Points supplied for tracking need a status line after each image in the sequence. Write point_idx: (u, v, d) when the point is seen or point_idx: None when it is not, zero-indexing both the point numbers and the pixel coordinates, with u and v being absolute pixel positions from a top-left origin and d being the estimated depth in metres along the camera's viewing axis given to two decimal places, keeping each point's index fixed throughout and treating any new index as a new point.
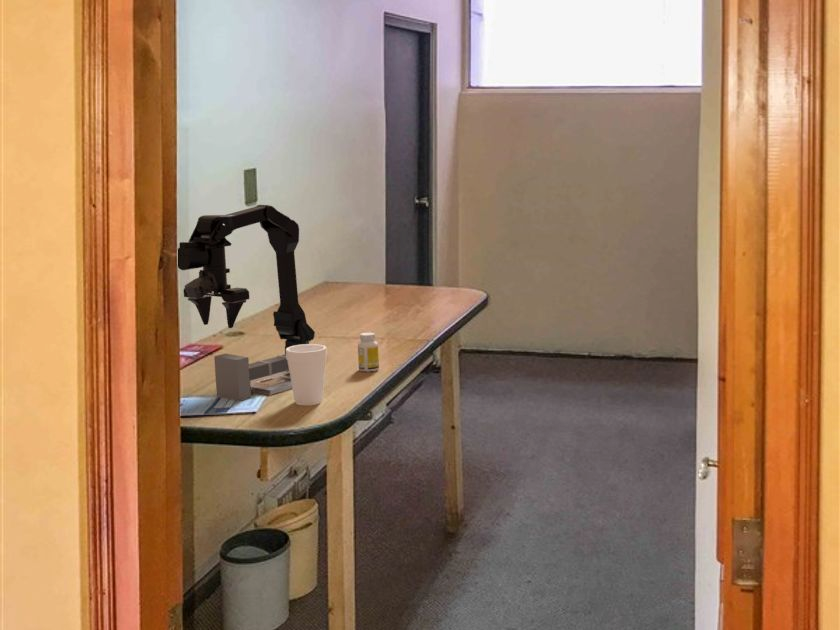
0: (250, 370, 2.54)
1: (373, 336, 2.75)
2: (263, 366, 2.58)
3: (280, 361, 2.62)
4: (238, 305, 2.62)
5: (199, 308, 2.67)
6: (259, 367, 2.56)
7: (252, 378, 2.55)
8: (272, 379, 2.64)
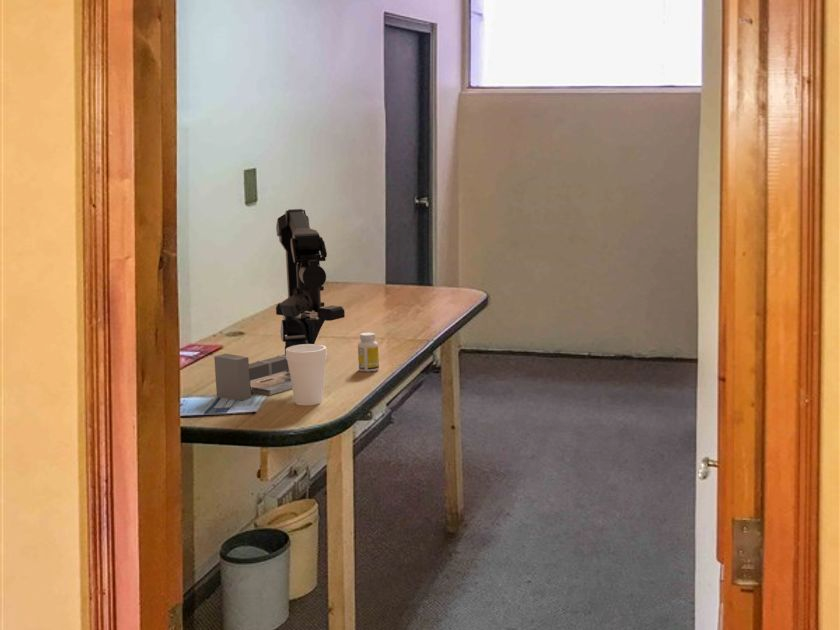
0: (250, 370, 2.54)
1: (373, 336, 2.75)
2: (263, 366, 2.58)
3: (280, 361, 2.62)
4: (320, 322, 2.62)
5: (304, 328, 2.62)
6: (259, 367, 2.56)
7: (252, 378, 2.55)
8: (272, 379, 2.64)
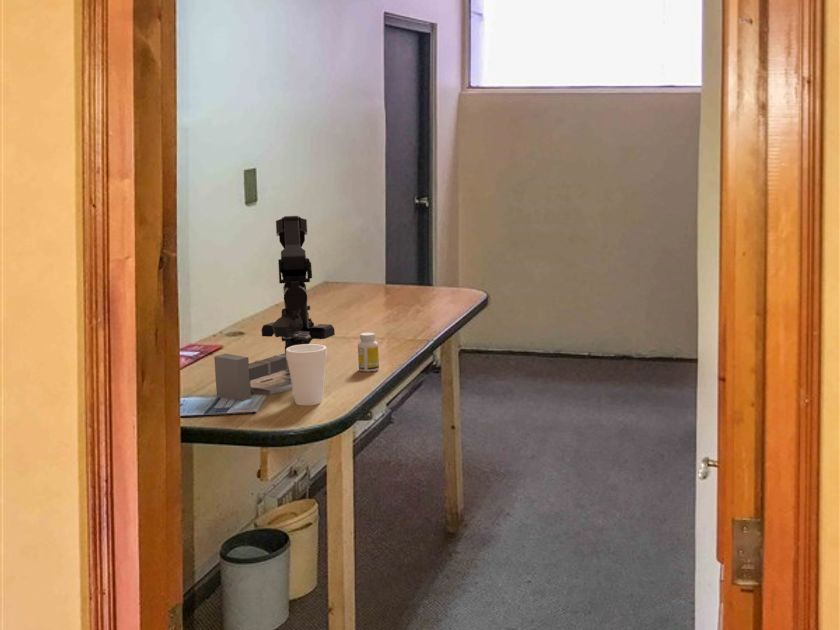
0: (250, 370, 2.54)
1: (373, 336, 2.75)
2: (262, 366, 2.58)
3: (278, 361, 2.63)
4: (307, 341, 2.67)
5: None
6: (259, 367, 2.57)
7: (252, 377, 2.55)
8: (272, 379, 2.64)
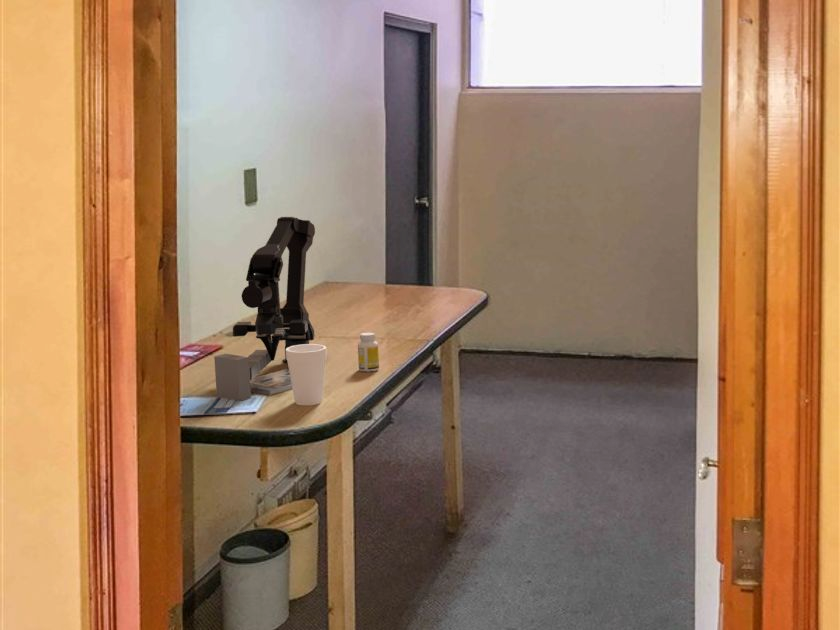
0: (251, 369, 2.55)
1: (373, 336, 2.75)
2: (256, 364, 2.60)
3: (261, 359, 2.65)
4: (279, 337, 2.72)
5: (267, 345, 2.70)
6: (254, 366, 2.58)
7: (252, 376, 2.56)
8: (272, 379, 2.64)
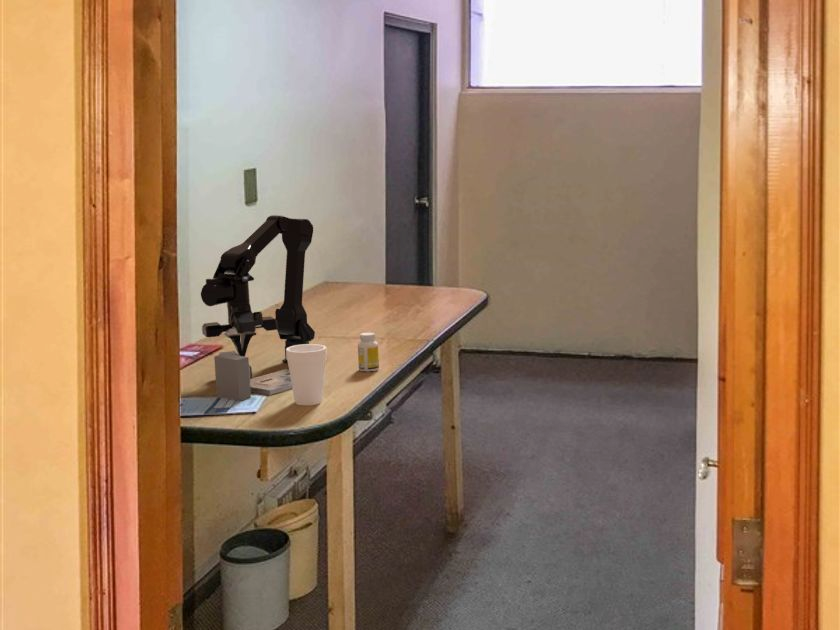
0: None
1: (373, 336, 2.75)
2: None
3: None
4: None
5: (238, 344, 2.70)
6: None
7: None
8: (272, 379, 2.64)
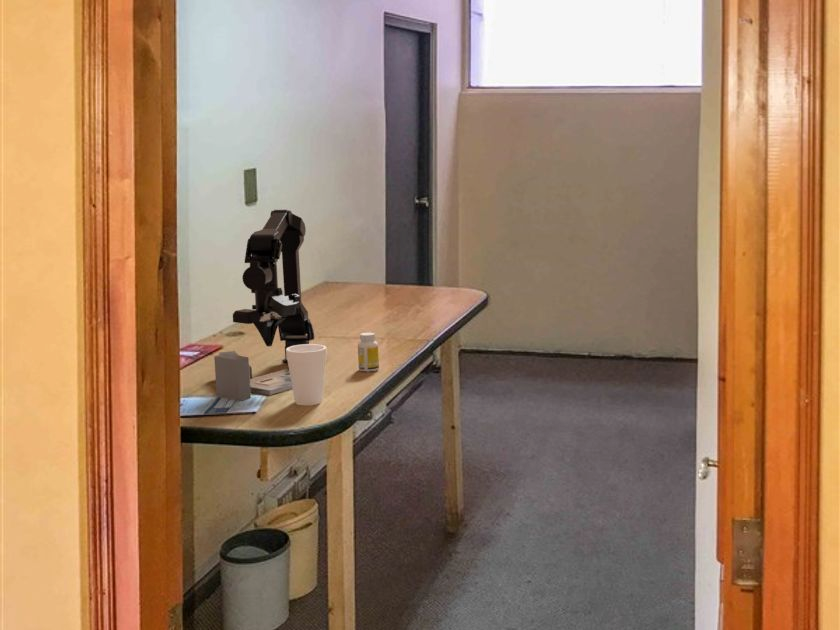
0: None
1: (373, 336, 2.75)
2: None
3: None
4: None
5: (269, 330, 2.59)
6: None
7: None
8: (272, 379, 2.64)
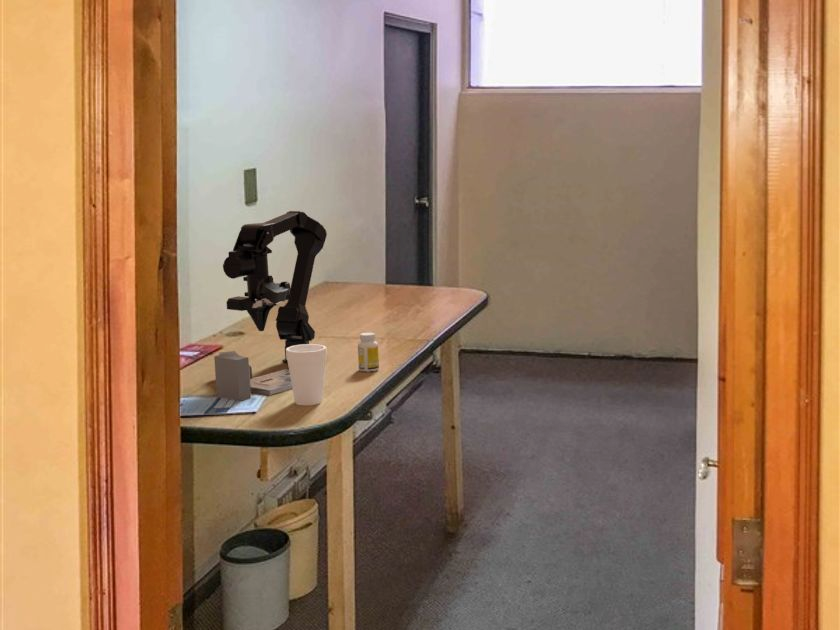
0: None
1: (373, 336, 2.75)
2: None
3: None
4: None
5: (261, 316, 2.73)
6: None
7: None
8: (272, 379, 2.64)
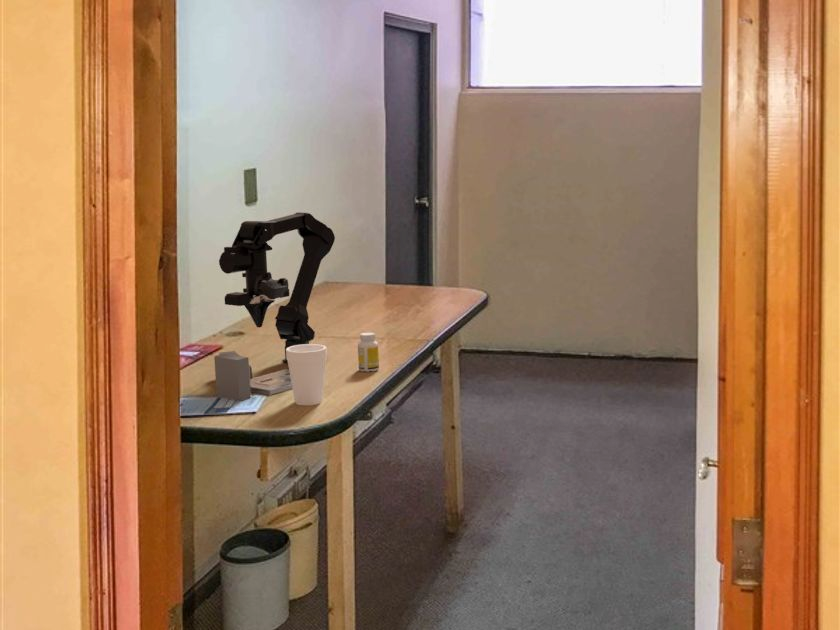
0: None
1: (373, 336, 2.75)
2: None
3: None
4: None
5: (259, 312, 2.75)
6: None
7: None
8: (272, 379, 2.64)
